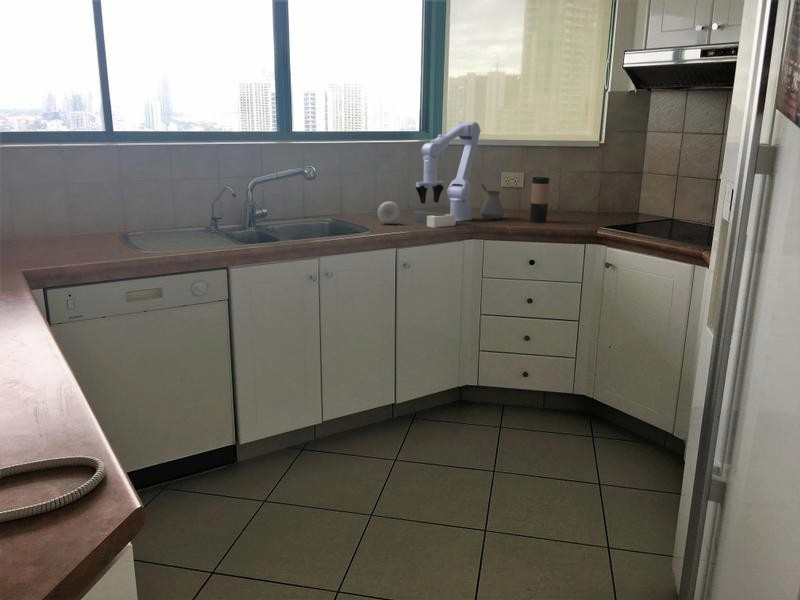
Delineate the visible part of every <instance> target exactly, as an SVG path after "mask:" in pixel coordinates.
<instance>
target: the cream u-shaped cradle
mask: <svg viewBox="0 0 800 600" xmlns="http://www.w3.org/2000/svg"><path fill="white" fill-rule="evenodd" d="M443 214H444V215H445V216H433V215H432V216H427V224H426V227H428V228H434V229H435V228H444V227H452V226H453V227H454V226H456V225H457V224H456V222H457V221H456V215H452V214H450V213H446V214H445V213H443Z"/></svg>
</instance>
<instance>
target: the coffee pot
mask: <svg viewBox="0 0 800 600" xmlns="http://www.w3.org/2000/svg"><path fill="white" fill-rule="evenodd" d="M478 187H479V188H480V189H482V188H483V191H484V192H485V193H486V194H487V196H486V198H485V200H484V202H483V204H482V207H481V209H480V212H479V215H480V216H481V217H482V218H483V219H484V218H485V219H484V220H489V219H498V220H500V219H501V218H503V217H504V215H505V210H504V208H503V205H502V203H501V199H500V196H499V195H500V193H501V191H500V190H488V189H487V188H486V186H485V185H484V184H483V183H480V185H479V186H478Z"/></svg>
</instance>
